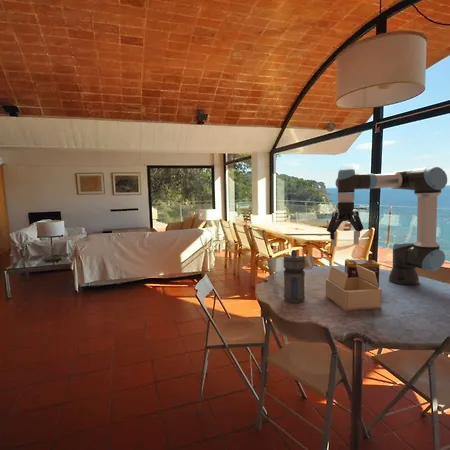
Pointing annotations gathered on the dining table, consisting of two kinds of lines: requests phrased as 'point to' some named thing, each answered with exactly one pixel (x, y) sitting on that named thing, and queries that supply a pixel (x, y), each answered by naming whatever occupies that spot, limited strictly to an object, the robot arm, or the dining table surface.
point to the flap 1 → (338, 276)
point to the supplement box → (368, 264)
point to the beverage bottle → (294, 278)
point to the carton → (354, 294)
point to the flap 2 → (367, 275)
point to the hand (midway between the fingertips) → (345, 245)
